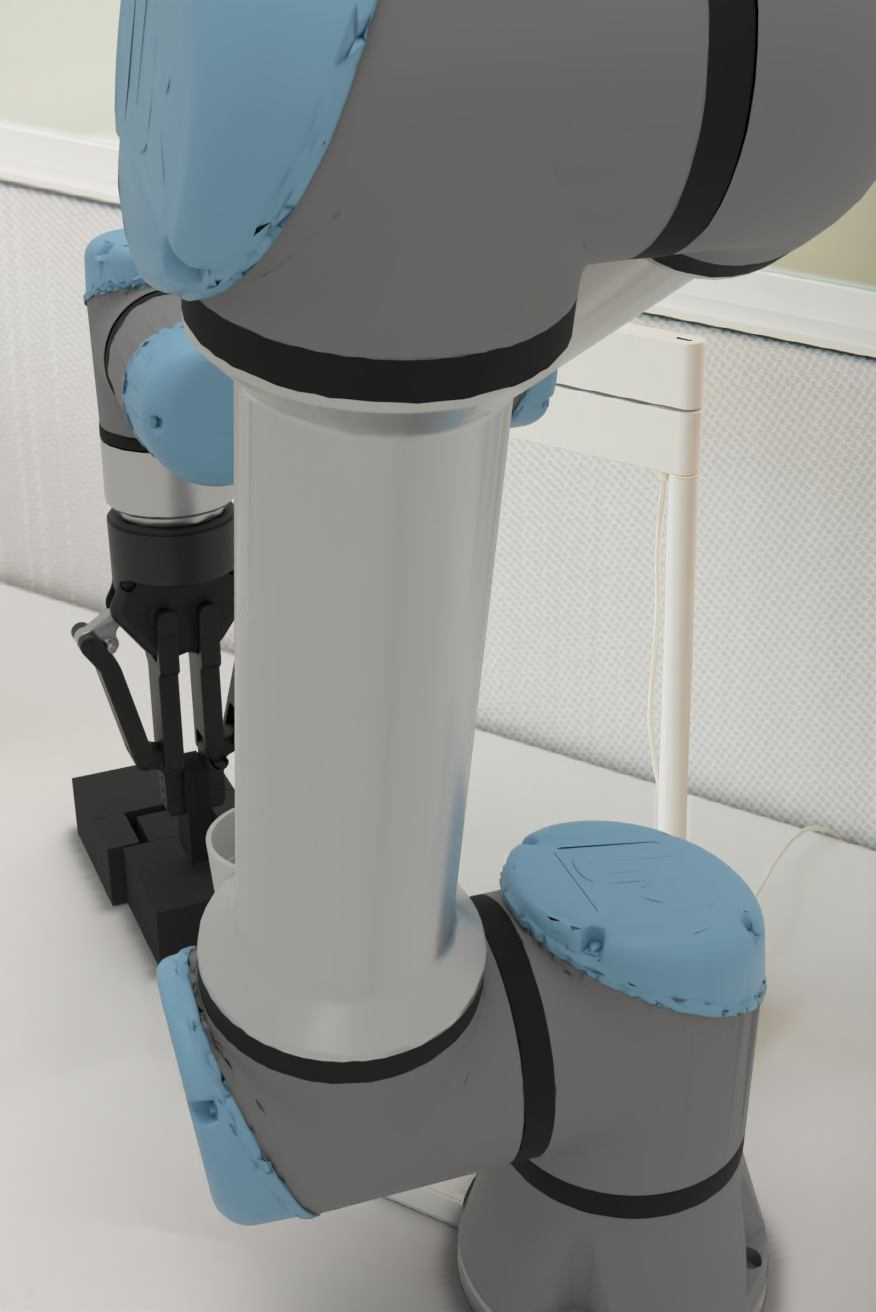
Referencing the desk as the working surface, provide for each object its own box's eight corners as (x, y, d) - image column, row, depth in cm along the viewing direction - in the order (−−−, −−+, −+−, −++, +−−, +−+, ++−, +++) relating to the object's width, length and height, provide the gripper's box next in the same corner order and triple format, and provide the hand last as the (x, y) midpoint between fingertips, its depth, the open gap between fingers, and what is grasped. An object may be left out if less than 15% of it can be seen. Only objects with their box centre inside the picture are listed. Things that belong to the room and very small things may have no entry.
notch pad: (255, 872, 112) (252, 816, 110) (112, 906, 108) (106, 849, 106) (212, 802, 120) (208, 749, 118) (77, 832, 116) (71, 777, 114)
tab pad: (282, 941, 105) (279, 882, 103) (161, 972, 102) (155, 912, 100) (227, 852, 114) (224, 796, 112) (115, 878, 111) (109, 822, 109)
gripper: (258, 469, 99) (274, 802, 110) (44, 499, 95) (82, 844, 105) (300, 508, 93) (313, 857, 103) (74, 542, 88) (111, 905, 99)
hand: (197, 850), depth 104 cm, fingers closed
